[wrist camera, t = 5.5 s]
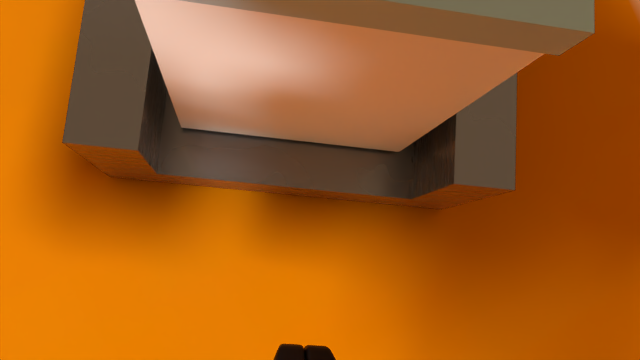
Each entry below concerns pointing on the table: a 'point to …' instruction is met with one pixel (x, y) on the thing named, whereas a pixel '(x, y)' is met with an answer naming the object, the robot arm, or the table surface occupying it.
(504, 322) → the table surface
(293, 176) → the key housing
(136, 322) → the table surface
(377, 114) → the plunger key
